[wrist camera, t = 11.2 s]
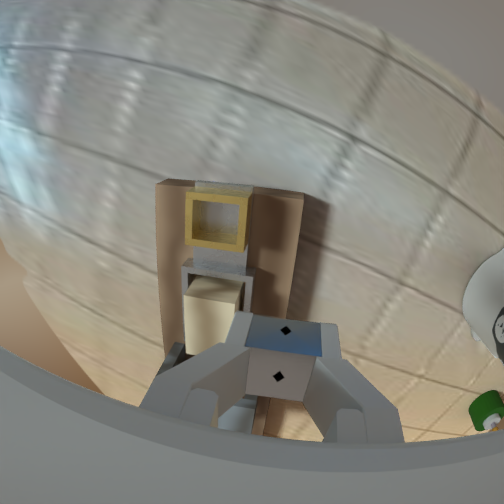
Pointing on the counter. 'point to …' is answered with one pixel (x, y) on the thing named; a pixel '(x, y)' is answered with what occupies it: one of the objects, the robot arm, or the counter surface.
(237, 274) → the sled
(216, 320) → the maple block
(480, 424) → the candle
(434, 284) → the counter surface
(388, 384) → the counter surface
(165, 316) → the tunnel deck
